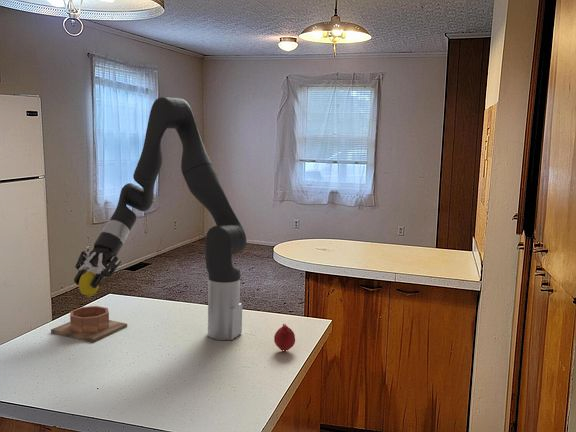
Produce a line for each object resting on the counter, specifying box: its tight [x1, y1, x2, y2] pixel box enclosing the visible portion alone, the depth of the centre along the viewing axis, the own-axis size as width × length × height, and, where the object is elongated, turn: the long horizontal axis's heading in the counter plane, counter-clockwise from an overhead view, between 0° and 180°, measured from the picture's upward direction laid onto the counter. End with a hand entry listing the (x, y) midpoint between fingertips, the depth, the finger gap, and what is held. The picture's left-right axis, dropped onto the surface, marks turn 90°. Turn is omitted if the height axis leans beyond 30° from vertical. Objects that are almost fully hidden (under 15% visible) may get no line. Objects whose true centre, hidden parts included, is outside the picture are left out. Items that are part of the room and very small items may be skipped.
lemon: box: [78, 270, 100, 298], centre depth 154 cm, size 6×6×8 cm
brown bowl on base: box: [50, 305, 128, 343], centre depth 156 cm, size 16×14×6 cm
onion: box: [273, 323, 296, 352], centre depth 145 cm, size 6×6×8 cm
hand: (84, 285), depth 153 cm, fingers closed on lemon, 5 cm apart
